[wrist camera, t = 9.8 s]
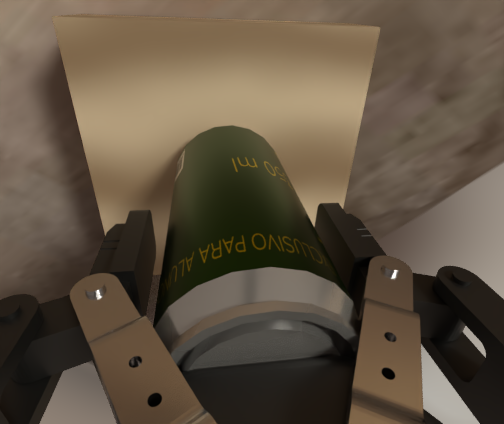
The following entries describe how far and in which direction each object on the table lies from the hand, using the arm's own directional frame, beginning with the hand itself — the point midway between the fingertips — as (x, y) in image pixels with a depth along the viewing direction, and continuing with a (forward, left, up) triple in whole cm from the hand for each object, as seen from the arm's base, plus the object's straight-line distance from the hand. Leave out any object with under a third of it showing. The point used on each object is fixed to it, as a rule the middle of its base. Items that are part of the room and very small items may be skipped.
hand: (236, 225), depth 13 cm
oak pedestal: (0, 0, -9) cm, 9 cm away
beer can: (0, 0, -5) cm, 5 cm away
